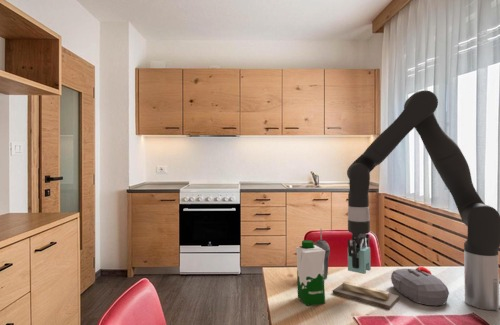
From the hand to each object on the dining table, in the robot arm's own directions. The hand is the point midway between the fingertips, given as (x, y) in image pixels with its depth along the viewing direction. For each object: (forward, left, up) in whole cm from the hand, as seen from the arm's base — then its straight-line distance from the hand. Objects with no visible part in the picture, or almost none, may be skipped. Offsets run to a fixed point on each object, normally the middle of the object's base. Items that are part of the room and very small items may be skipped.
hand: (359, 265), depth 116 cm
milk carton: (+11, +15, -11) cm, 21 cm away
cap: (-14, -28, -11) cm, 33 cm away
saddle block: (0, 0, -2) cm, 2 cm away
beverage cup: (+19, -7, -11) cm, 23 cm away
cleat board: (-2, 0, -11) cm, 11 cm away
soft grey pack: (-17, -13, -11) cm, 24 cm away
